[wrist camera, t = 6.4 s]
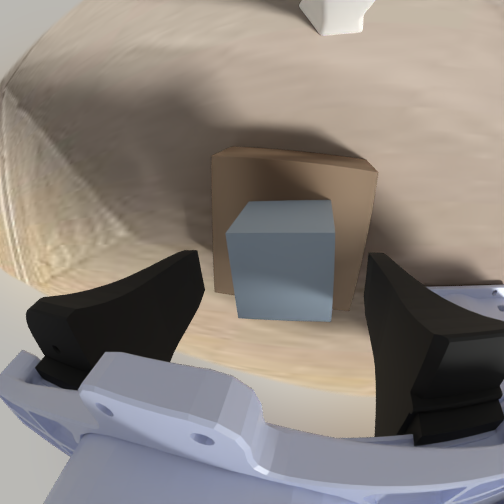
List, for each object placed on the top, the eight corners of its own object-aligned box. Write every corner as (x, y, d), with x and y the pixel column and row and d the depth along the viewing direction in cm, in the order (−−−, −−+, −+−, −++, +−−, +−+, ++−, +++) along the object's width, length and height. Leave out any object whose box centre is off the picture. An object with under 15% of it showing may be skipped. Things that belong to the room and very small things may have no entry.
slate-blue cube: (330, 200, 14) (335, 232, 10) (330, 273, 15) (331, 321, 12) (248, 201, 14) (225, 233, 11) (256, 272, 16) (238, 318, 13)
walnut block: (365, 159, 16) (378, 172, 12) (345, 275, 20) (349, 311, 16) (233, 145, 17) (211, 155, 14) (232, 260, 21) (214, 292, 18)
